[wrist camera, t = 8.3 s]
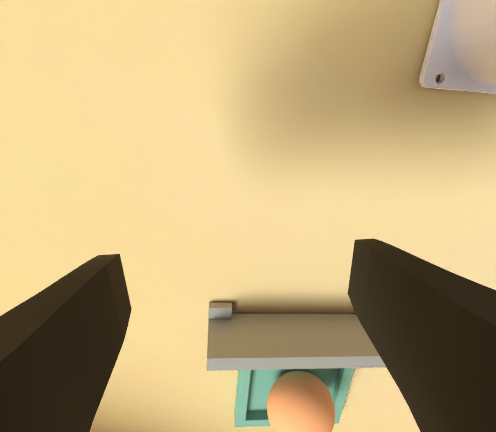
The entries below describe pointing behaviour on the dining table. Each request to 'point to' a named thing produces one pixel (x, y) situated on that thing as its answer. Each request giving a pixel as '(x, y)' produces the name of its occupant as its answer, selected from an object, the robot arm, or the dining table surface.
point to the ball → (300, 404)
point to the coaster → (261, 381)
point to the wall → (286, 341)
